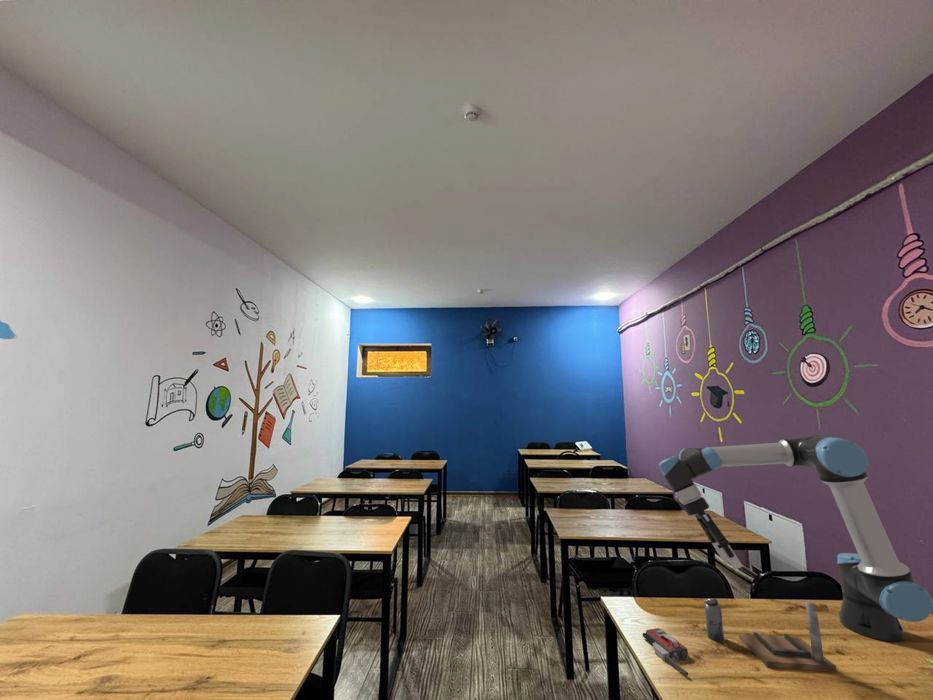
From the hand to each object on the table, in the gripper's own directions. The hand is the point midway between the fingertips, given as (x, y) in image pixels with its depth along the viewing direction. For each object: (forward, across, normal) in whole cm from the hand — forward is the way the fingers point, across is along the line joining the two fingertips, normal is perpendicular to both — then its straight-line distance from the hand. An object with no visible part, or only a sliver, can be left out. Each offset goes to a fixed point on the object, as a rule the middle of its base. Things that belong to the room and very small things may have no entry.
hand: (733, 565), depth 126 cm
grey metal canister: (+17, -5, -16) cm, 24 cm away
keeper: (+25, -2, -1) cm, 25 cm away
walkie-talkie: (+14, +10, -31) cm, 35 cm away
